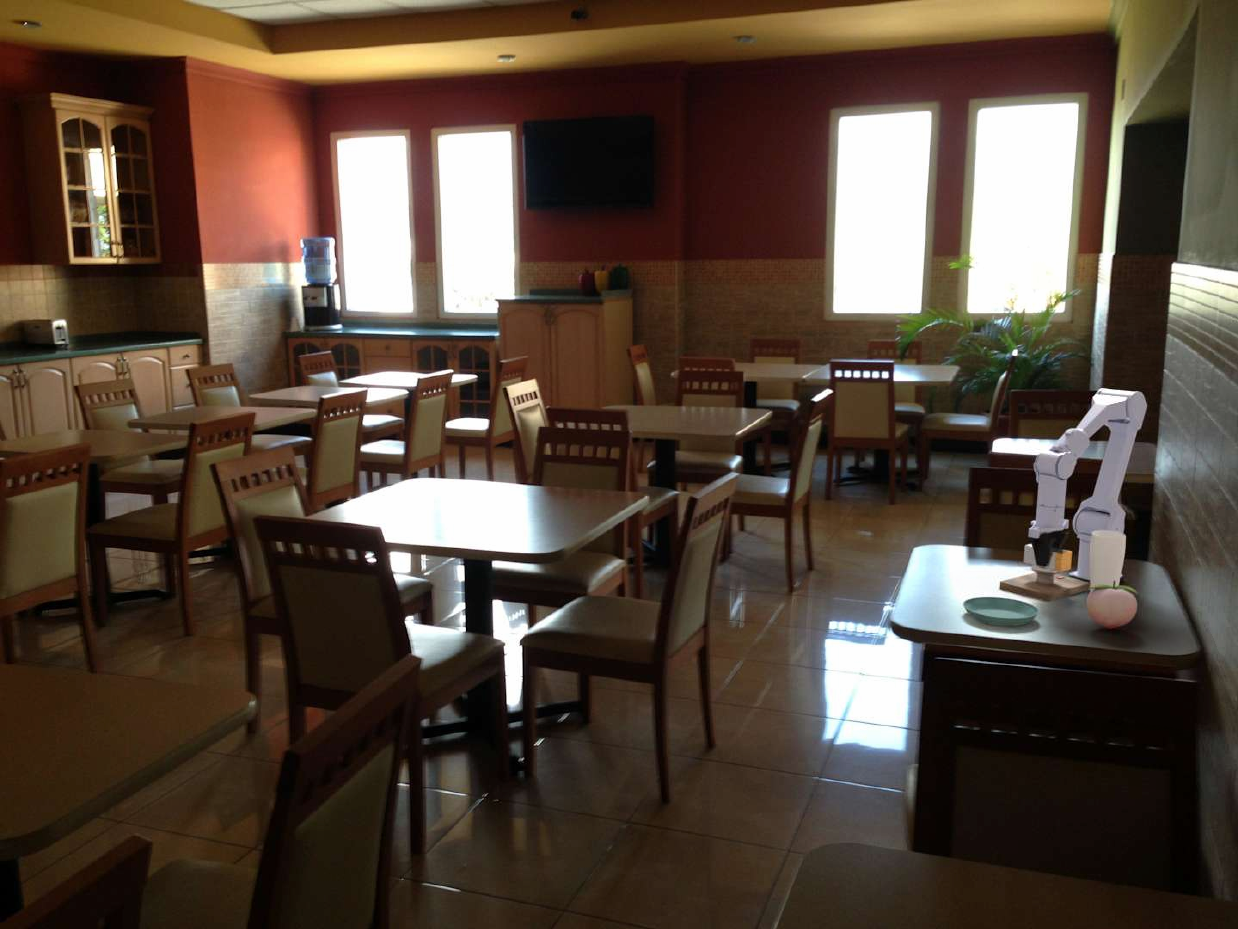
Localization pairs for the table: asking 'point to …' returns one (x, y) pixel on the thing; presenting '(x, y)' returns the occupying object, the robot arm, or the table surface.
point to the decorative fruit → (1111, 604)
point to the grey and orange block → (1049, 560)
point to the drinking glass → (1106, 557)
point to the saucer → (1000, 611)
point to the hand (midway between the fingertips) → (1046, 564)
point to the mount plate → (1044, 586)
